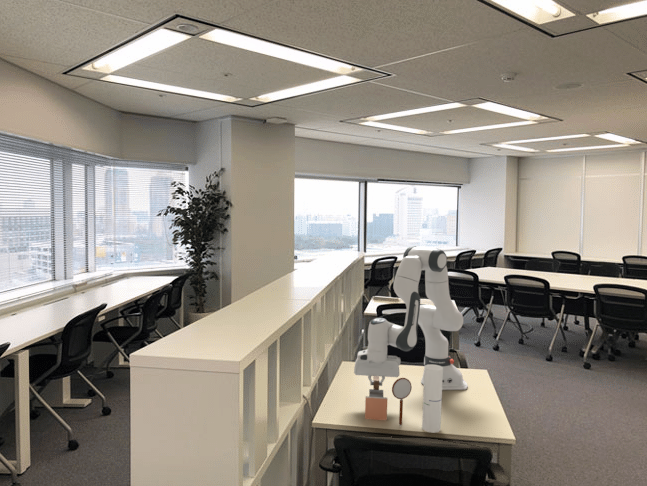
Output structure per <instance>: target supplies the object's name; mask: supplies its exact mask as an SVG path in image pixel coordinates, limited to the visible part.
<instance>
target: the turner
mask: <svg viewBox="0 0 647 486" xmlns="http://www.w3.org/2000/svg"><path fill="white" fill-rule="evenodd" d="M372 380H373V381H374V385H372V386H373V388H370V389H369V392H368V394H369V397H384V389H380V386H379V381H380V376H373V379H372Z"/></svg>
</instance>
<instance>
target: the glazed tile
mask: <svg viewBox="0 0 647 486" xmlns="http://www.w3.org/2000/svg"><path fill="white" fill-rule="evenodd" d="M364 402H365V405H364V406H365V410H364V420H378V421H379V420H380V421H387V419H388V397H384V396H383V397H369V396H368V395H366V396H365V401H364Z"/></svg>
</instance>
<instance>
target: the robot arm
mask: <svg viewBox="0 0 647 486" xmlns="http://www.w3.org/2000/svg"><path fill="white" fill-rule="evenodd" d="M402 257H403V258H402V260H401V261H400V263H399V265H398V268H397V270H396V273H395V276H394V280H393V290H394V291H393V292H394V293H395V294H396V296H397V297H398V298H399V299H400V300H402V301H403V303H404V304H405V307H406V312H405V319H404V324H403V325H404V326H402V325H399V324H395V323H393V322H390V321H388V320H387V319H386V318H383V317H375V318H372V319H371V320H370V321H369V325H368V328H367V341H368V344H367V347H366V348H367V349H363V350H359V351H357V358H356V359H355V363H354V369H353V373H354V375H355V376H366V377H367V378H368V380H369V383H370V386H373V385H374V381H373V379H372V377H374V376H379V377H381V380H379V387H382V386H383V382H384V381H385V379H386V377H387V378H398V377H400V365H401V362H402V361H401V357H398V356H397V355H388V346H391V347H394V348H397V349H400V350H401V351H403V352H410V351H411V350H413V349H414V348H415V347H416V345H417V342H418V326H419V327H420V329H421V331H422V333H423V336H424V340H425V354H424V357H423V365H424V367H425V365H430V364H433V365H439V366H441V367H443V379H442V391H453V390H454V391H458V390H459V391H461V390H463V391H464V390H467V389H468V386H469V385H468V383H467V381H466V380H464V376H463V374H462V371H461V370H460V369H458V368H457V367H456V365H454V363H455V361H454V359H453V358H452V357H451V356H449V340H448V338H447V337H446V336H444V334H443V333H442V331H447V332H458V331H460V330H461V328H462V327H463V324H464V316H463V314H462V313H461V311H460V310H459V309H457V308H456V306H455V305H454V303H453V301H452V299H451V295H450V288H449V273H448V267H447V263H448V257H447V254H446V252H445V251H444V250H443V249H440V248H433V247H429V246H409V247H407V248H406V249H405V251H404V252H403V256H402ZM423 271H424V283H425V286H424V287H425V296H426V298H427V299H428V300H430V301H431V302H432V303H433V304H421V296H420V294H419V283H420V280H421V274H422V272H423ZM420 382H421V384H422V385H423V386H424V372H423V373H422V376H421V380H420Z"/></svg>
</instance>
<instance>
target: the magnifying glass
mask: <svg viewBox="0 0 647 486" xmlns="http://www.w3.org/2000/svg"><path fill="white" fill-rule="evenodd" d="M391 392H392V395H393V396H394V398H396V399H398V400H399V414H398V415H399V417H398V421H399V422H398V424H399V427H400V426H401V427H402V425H403V409H404V408H403V407H404V406H403V405H404V399H406V398H407V397H409V395H410V394H411V392H412V383H411V381H410V380H409V379H408V378H406V377H400V378H398V379H396V380H395V381H394V382H393V384H392V387H391Z"/></svg>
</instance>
